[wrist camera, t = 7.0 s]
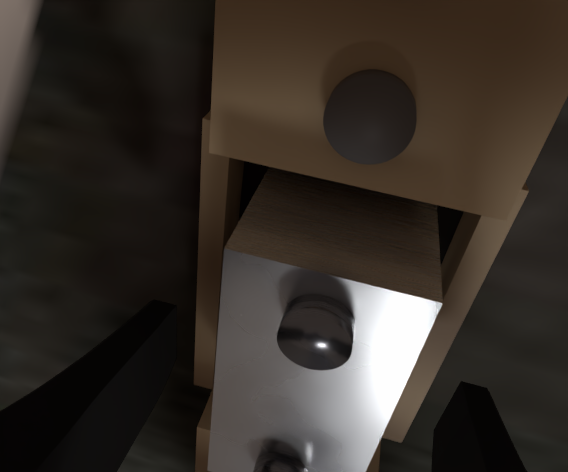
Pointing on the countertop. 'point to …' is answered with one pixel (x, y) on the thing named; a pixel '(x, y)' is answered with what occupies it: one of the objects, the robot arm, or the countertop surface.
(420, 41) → the wooden frame
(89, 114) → the countertop surface
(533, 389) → the countertop surface
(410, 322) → the white box with knobs
